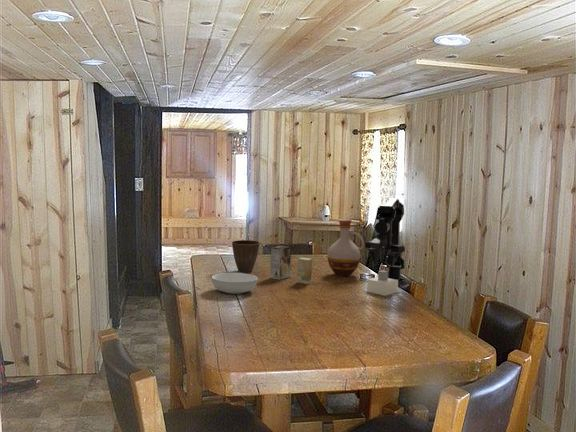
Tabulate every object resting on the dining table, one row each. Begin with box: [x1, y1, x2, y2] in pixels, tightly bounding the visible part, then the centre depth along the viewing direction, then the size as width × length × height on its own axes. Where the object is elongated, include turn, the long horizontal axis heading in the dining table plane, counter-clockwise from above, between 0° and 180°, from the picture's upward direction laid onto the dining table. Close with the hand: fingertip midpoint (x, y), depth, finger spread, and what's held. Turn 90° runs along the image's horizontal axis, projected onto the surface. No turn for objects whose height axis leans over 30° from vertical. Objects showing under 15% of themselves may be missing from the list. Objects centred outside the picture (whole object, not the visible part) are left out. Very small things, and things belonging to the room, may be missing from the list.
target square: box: [364, 290, 401, 298], centre depth 254 cm, size 12×12×1 cm
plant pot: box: [231, 239, 260, 274], centre depth 292 cm, size 15×15×16 cm
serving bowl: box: [211, 272, 259, 295], centre depth 246 cm, size 21×21×7 cm
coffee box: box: [269, 245, 292, 281], centre depth 279 cm, size 9×6×16 cm
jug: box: [326, 219, 365, 278], centre depth 289 cm, size 20×18×30 cm
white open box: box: [366, 269, 399, 297], centre depth 253 cm, size 10×10×10 cm
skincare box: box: [296, 257, 313, 285], centre depth 269 cm, size 6×4×12 cm
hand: (383, 265), depth 252 cm, fingers open, 9 cm apart
